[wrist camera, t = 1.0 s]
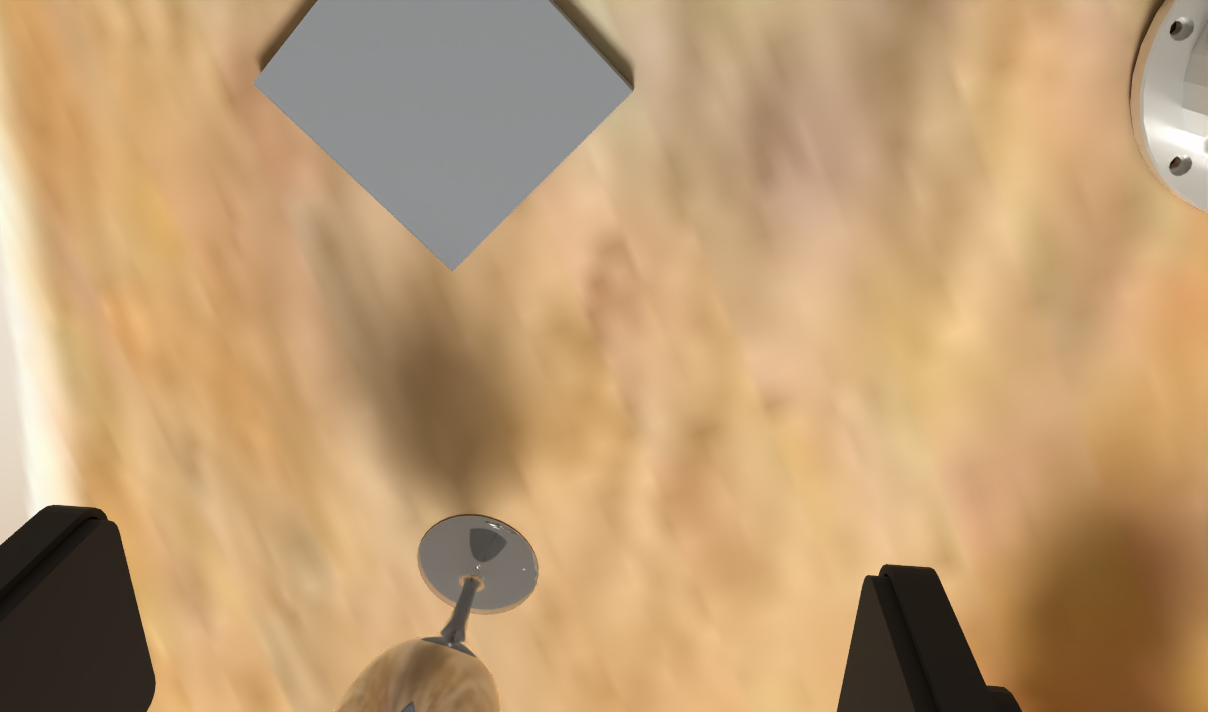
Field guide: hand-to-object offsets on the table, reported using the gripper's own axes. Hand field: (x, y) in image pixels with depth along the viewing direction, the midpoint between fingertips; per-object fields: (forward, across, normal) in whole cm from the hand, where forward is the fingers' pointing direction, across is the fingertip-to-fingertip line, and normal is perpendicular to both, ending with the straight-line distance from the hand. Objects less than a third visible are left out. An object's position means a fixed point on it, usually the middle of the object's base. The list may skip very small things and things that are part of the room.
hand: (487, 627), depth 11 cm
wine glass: (+32, +7, +24) cm, 41 cm away
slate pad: (+31, +8, -2) cm, 32 cm away
